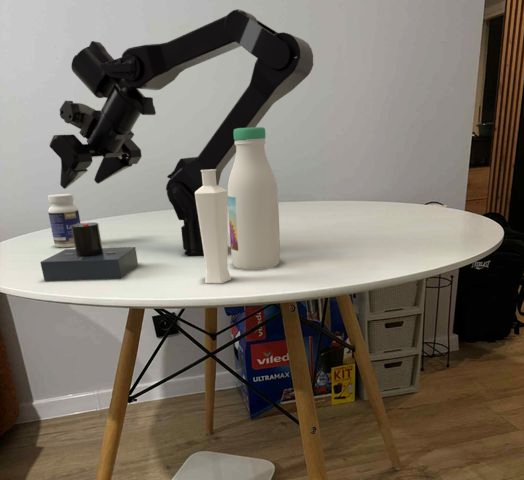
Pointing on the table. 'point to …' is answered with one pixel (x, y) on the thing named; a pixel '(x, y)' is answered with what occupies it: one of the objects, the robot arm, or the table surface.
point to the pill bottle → (63, 219)
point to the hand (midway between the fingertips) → (80, 184)
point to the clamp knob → (87, 239)
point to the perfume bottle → (213, 227)
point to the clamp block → (89, 265)
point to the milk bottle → (253, 203)
